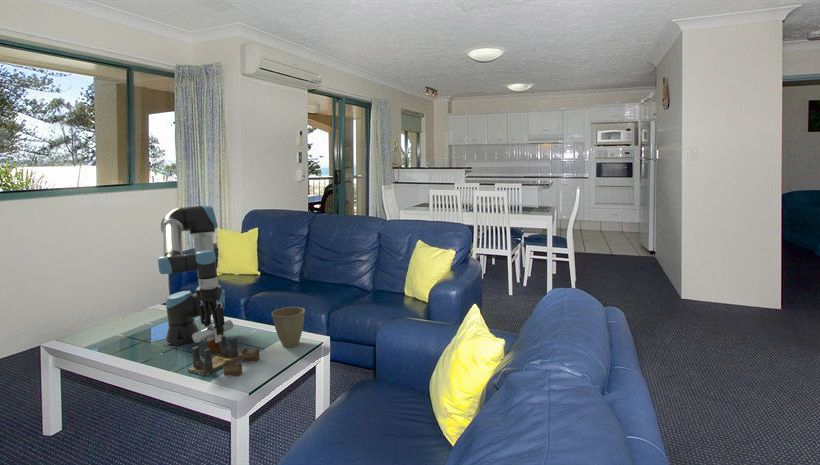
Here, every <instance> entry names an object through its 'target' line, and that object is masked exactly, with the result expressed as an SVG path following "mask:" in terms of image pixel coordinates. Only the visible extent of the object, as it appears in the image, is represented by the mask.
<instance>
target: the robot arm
mask: <svg viewBox="0 0 820 465" xmlns="http://www.w3.org/2000/svg"><path fill="white" fill-rule="evenodd" d="M218 228H219V227H218V221H217V217H216V214H215V210H214V208H213V206H211V205H199V206H197V205H196V206H186V207H182V206H181V207H177V208H174V209H172V210H171V211H169V212H168V213H166V215H164V217H163V218H162V220H161V223H160V231H161V233H162V234H163V235H162V236H163V237H162V238H163V242H162V243H163V255H162V256H159V257H158V259H157V266H158V272H159V274H160V275H172V274H178V273H179V274H180V273H186V272H197V279H198V280H197V281H198V287H196V289H195V293H192V291H191V290H183V291H178V292H175V293H173V294H170V295H168V297H167V298H166V299H165V305H166V306H165V308H166V315H167V322H168V323H167V324H168V329H167V332H166V333H167V334H166V336H165V341H167V342H168V343H170V344H182V345H187V344H190V342H191V343H192V342H193V343H195V342H194V341H193V338H192V335H193V334H194V333H196V332H199V329H198V326H197V324H196V322H195V318H200V319H199V320H200V323H201V325H203V326H205V328H206V329H207V328H209V327H212V325H210V324H212V323H214V324H215V327H214V335H215V343H217V342H220V341H222V339H221V326H223V325H224V324H225V323H224V322H225V312H224V310H225V300H226V296H225V295H226V294H225V289H222V285H220V284H219V278H218V271H217V258H216V252H215V249H214V240H213V236H214V234H215V233H216V229H218ZM183 232H189V235H190V236H191V237H192V238H193V244H194V252H195V253H194V252H193V253H185V254H183V238H182V233H183ZM211 320H213V322H211ZM211 340H214V336H212V337H210V338H208V339H207V341H211ZM167 342H166V343H167ZM186 343H187V344H186Z"/></svg>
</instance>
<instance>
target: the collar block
mask: <svg viewBox="0 0 820 465" xmlns="http://www.w3.org/2000/svg"><path fill="white" fill-rule="evenodd" d="M221 339H222V341H220V342H219V348H220V352H219V354H218V355H215V356H213V357H212V353H211V349H208V348H207V349H204V350H203V359H201V353H200V352H201V351H200V346H194V347H192V348H191V356H192V365H193V366H192V367H189V368H187V372H188V371H192V372H196V373H200V374H204V375H206V374H208V373H210V374H212V373H213V371H214V372H216V371H218V370H221V368H222V369H223V363H224V362H225V361H227V360H229V363H234V362H236V361H238V360H240V359H242V352H239V348H238V347H239V346H238V338H237V337H236V336H234V337H232V338H229V343H230V344H229V345H230V347H227V340H226V335H225V334H224V335H222V336H221ZM215 370H216V371H215ZM211 372H212V373H211ZM204 375H203V376H204ZM208 375H209V374H208ZM206 376H207V375H206Z"/></svg>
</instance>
